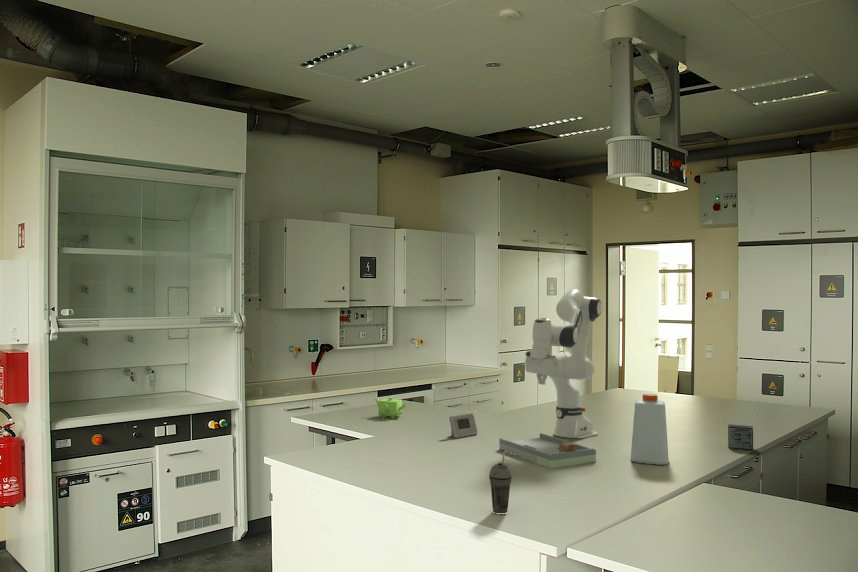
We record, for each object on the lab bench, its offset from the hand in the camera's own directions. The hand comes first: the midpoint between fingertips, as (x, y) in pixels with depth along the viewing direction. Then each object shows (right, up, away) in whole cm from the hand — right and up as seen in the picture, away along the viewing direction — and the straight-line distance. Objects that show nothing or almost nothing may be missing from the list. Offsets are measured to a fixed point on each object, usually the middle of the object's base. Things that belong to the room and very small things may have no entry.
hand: (541, 384), depth 302 cm
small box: (+93, -31, +4) cm, 98 cm away
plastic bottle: (+42, -30, -21) cm, 56 cm away
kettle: (-74, -29, +71) cm, 106 cm away
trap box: (-1, -29, -14) cm, 32 cm away
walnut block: (+6, -26, -27) cm, 38 cm away
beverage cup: (-29, -28, -91) cm, 99 cm away
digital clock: (-35, -29, +23) cm, 51 cm away
